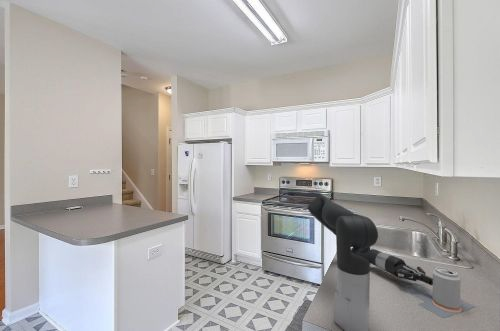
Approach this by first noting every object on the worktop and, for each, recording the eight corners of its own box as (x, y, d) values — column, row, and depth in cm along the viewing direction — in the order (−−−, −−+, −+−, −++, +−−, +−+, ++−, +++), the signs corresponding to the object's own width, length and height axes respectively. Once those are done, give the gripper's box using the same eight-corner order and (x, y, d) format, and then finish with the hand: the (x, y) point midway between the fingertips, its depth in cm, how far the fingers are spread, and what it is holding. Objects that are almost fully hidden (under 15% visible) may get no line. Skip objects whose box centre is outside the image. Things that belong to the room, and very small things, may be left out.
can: (466, 311, 78) (466, 275, 78) (442, 309, 79) (442, 274, 79) (449, 298, 86) (449, 266, 86) (427, 297, 86) (427, 265, 86)
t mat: (443, 319, 75) (443, 317, 75) (391, 290, 91) (391, 289, 91) (475, 307, 81) (475, 306, 81) (421, 282, 98) (421, 282, 98)
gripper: (379, 257, 99) (421, 275, 83) (400, 253, 104) (444, 269, 88) (379, 274, 99) (421, 296, 83) (400, 270, 104) (444, 289, 88)
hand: (433, 282), depth 86 cm, fingers closed
